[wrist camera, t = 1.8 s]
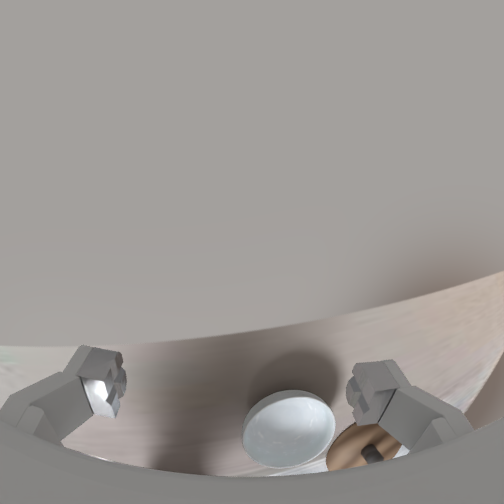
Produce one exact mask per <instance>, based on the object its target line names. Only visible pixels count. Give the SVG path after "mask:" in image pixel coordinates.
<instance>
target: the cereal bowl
mask: <svg viewBox="0 0 504 504" xmlns="http://www.w3.org/2000/svg"><path fill="white" fill-rule="evenodd" d="M335 425H336V422H335V416H334V414H333V411H332V410H331V408H330V407H329V406H328V405H327V404H326V402H324V401H323V400H322V399H321V398H320V397H318V396H316V395H314V394H313V393H310V392H307V391H302V390H285V391H280V392H276V393H274V394H271V395H269V396H267V397H265V398H264V399H262V400H260V401H259V402H258V403H257V404H255V405H254V406H253V407H252V409H251V410H250V411H249V413H248V414H247V416H246V417H245V420H244V423H243V426H242V443H243V447H244V450H245V452H246V453H247V455H248V456H249V457H250V458H251V459H252V460H253V461H255V462H257V463H258V464H261V465H263V466H266V467H271V468H289V467H294V466H298V465H301V464H304V463H306V462H308V461H310V460H312V459H313V458H315V457H316V456H318V455H319V454H320V453H321V452H322V451H323V450H324V449H325V448H326V447H327V446H328V444H329V443H330V441H331V439H332V437H333V435H334V432H335Z"/></svg>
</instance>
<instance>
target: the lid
mask: <svg viewBox="0 0 504 504" xmlns="http://www.w3.org/2000/svg"><path fill="white" fill-rule="evenodd" d="M401 445H402V444H401V443H400V442H399V441H398V440H396V439H395V438H394V437H393V436H391V435H390V434H389V433H388V432H387V431H385V430H384V429H383V428H382V427H381V426H379V425H378V423H376V424H368V425H361V426H357V423H355V424H353V425H352V426H350V427H349V428H347V429H346V430H345V431H344V432H343V433H341V434H340V435H339V436H338V437H337V439H336V440H335V441H334V442H333V444H332V445H331V447H330V449H329V451H328V453H327V457H326V465H327V468H328V470H329V471H334V470H340V469H346V468H352V467H358V466H363V465H368V464H372V463H377V462H381V461H385V460H389V459H392V458H393V457H394V456H395V455H396V453H397V452H398V451H399V449H400V447H401Z"/></svg>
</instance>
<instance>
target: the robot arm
mask: <svg viewBox="0 0 504 504" xmlns="http://www.w3.org/2000/svg"><path fill="white" fill-rule="evenodd" d="M122 363H123V358H122V354H121V353H120V352H116V351H110V350H105V349H100V348H96V347H90V346H85V345H81V346H80V347H79V348H78V349H77V351H76V352H75V354H74V355H73V357H72V358H71V360H70V362H69V363H68V365H67V366H66V368H65V369H64V371H63V373H62V372H57V373H55V374H53V375H51V376H49V377H47V378H45V379H43V380H41V381H39V382H37V383H35V384H33V385H31V386H29V387H26V388H24V389H22V390H20V391H18V392H16V393H14V394H12V395H10V396H9V398H8V399H7V401H6V402H5V404H4V405H3V407H2V408H1V410H0V504H504V417H502V418H500V419H498V420H496V421H494V422H492V423H490V424H488V425H486V426H483V427H481V428H479V429H477V430H474V429H473V427H472V426H471V424H470V423H469V421H468V420H467V419H466V417H465V416H464V414H463V413H462V411H461V410H459V409H457V408H455V407H453V406H452V405H450V404H448V403H446V402H444V401H442V400H440V399H438V398H437V397H435V396H433V395H431V394H429V393H427V392H425V391H424V390H422V389H420V388H418V387H416V386H411V384H410V383H409V381H408V380H407V378H406V377H405V375H404V374H403V372H402V371H401V369H400V368H399V366H398V365H397V364H396V362H395V361H394V360H384V361H377V362H365V363H356V364H355V366H354V368H353V370H352V373H353V375H354V376H353V377H352V378H351V379H350V380H349V381H348V384H347V387H346V398H347V401H348V404H349V405H350V406H352V407H353V408H354V410H353V412H352V414H353V416H354V418H355V421H356V423H357V426H361V425H368V424H376V423H378V425H379V426H381V427H382V428H383V429H384V430H385V431H387V432H388V433H389V434H390V435H391V436H393V437H394V438H395V439H396V440H398V441H399V442H400V443H401V444H402V445H404V446H405V447H406V448H407V449H409V450H410V452H409V453H408V454H407V455H404V456H401V457H397V458H393V459H389V460H385V461H381V462H377V463H372V464H368V465H363V466H358V467H352V468H346V469H340V470H334V471H327V472H319V473H310V474H300V475H287V476H267V477H228V476H209V475H196V474H186V473H177V472H169V471H162V470H156V469H149V468H144V467H138V466H133V465H128V464H124V463H119V462H115V461H111V460H107V459H103V458H99V457H95V456H92V455H88V454H85V453H81V452H78V451H75V450H72V449H69V448H66V447H64V446H63V444H62V443H61V440H62V439H64V438H65V437H66V436H68V435H69V434H70V433H71V432H73V431H74V430H75V429H76V428H78V427H79V426H80V425H82V424H83V423H84V422H85V421H87V420H88V419H89V418H90V417H92V416H93V414H96V415H100V416H105V417H110V418H116V415H117V412H118V410H119V407H120V402H119V398H121V397H123V396H124V393H125V390H126V383H127V380H126V372H125V370H124V369H123V368H122V367H121V366H122Z"/></svg>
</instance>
